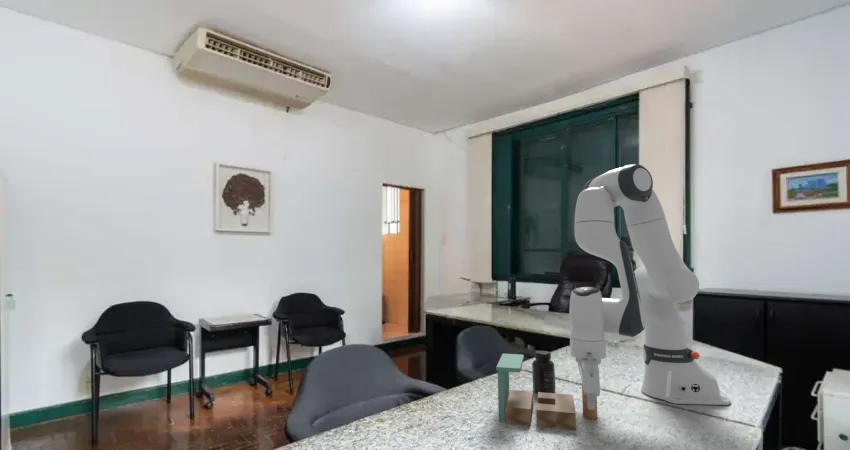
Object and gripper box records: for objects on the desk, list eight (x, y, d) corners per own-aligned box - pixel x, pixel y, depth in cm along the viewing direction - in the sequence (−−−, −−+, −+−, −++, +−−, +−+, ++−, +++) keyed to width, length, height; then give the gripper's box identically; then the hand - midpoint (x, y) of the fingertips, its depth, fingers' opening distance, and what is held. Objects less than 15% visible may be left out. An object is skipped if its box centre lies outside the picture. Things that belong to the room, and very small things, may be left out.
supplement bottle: (556, 389, 135) (554, 350, 135) (555, 395, 128) (553, 355, 129) (533, 387, 137) (532, 349, 138) (531, 393, 131) (530, 353, 131)
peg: (596, 414, 113) (595, 376, 114) (598, 419, 110) (596, 380, 110) (582, 413, 114) (581, 375, 115) (583, 418, 111) (582, 379, 111)
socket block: (573, 409, 117) (572, 394, 117) (576, 430, 104) (575, 413, 104) (510, 404, 122) (510, 389, 122) (505, 422, 108) (505, 406, 109)
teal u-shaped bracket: (525, 404, 121) (523, 354, 122) (521, 425, 107) (520, 368, 108) (503, 402, 123) (502, 353, 124) (497, 422, 108) (496, 366, 109)
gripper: (605, 359, 102) (607, 418, 101) (596, 342, 122) (598, 391, 121) (577, 357, 104) (579, 415, 103) (573, 340, 124) (575, 389, 123)
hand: (589, 402), depth 112 cm, fingers open, 8 cm apart
